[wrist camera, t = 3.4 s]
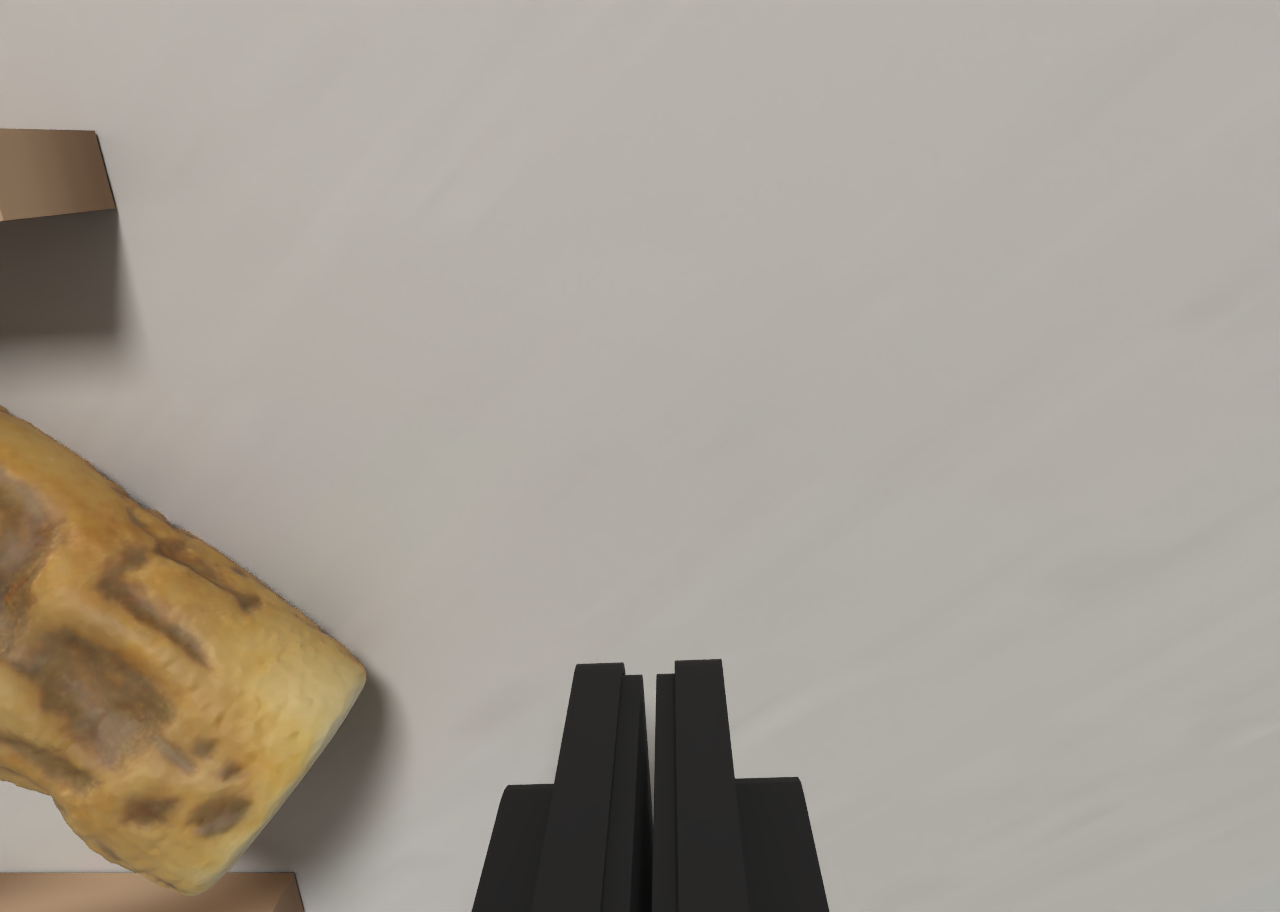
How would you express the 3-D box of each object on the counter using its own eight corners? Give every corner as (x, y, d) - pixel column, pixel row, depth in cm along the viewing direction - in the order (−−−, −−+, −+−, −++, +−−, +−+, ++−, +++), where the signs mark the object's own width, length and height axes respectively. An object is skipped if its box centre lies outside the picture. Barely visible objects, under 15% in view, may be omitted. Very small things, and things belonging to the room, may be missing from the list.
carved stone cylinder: (-146, 505, 14) (-461, 646, 10) (-55, 305, 12) (-382, 380, 9) (290, 769, 15) (158, 979, 11) (413, 616, 14) (309, 796, 10)
